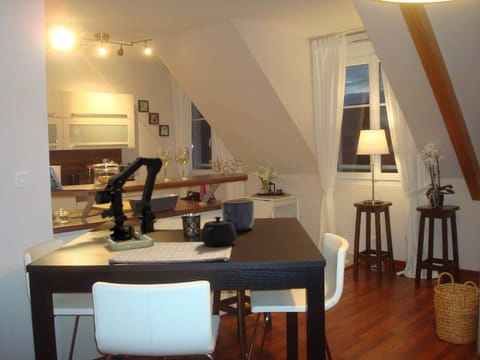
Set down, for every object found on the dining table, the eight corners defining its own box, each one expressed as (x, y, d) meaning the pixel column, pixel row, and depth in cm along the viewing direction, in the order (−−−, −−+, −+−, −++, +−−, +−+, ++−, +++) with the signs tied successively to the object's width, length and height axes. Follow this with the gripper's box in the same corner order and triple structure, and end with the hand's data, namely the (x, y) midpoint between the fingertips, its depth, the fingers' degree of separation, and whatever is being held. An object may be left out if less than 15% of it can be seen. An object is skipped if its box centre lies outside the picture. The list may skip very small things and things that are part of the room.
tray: (144, 240, 225) (144, 234, 225) (153, 245, 211) (153, 239, 211) (107, 244, 218) (107, 239, 218) (114, 250, 204) (114, 244, 204)
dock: (136, 235, 238) (136, 229, 238) (141, 238, 229) (141, 232, 229) (103, 239, 231) (102, 233, 231) (106, 243, 222) (106, 236, 222)
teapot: (223, 251, 194) (222, 221, 194) (190, 249, 201) (188, 220, 200) (247, 239, 217) (246, 212, 216) (216, 238, 224) (215, 212, 223)
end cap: (135, 238, 232) (134, 224, 231) (126, 241, 225) (125, 227, 225) (118, 237, 236) (117, 224, 235) (109, 240, 229) (108, 226, 228)
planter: (217, 231, 240) (215, 202, 239) (230, 226, 256) (229, 198, 255) (247, 232, 234) (246, 202, 233) (259, 227, 250) (258, 198, 249)
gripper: (97, 202, 242) (98, 232, 243) (103, 205, 225) (105, 238, 226) (119, 200, 247) (120, 230, 248) (126, 203, 230) (128, 235, 231)
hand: (118, 233), depth 238 cm, fingers closed
